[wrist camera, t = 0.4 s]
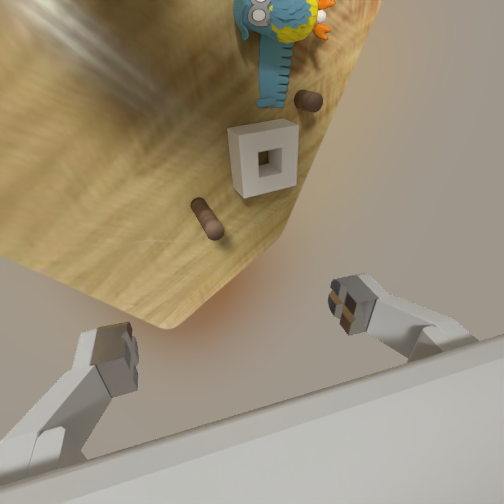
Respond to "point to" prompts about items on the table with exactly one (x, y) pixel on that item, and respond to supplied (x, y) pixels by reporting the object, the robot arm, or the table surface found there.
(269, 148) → the hole block
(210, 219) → the long pin
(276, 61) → the blue yellow bird figure
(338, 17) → the table surface
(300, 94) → the short pin
